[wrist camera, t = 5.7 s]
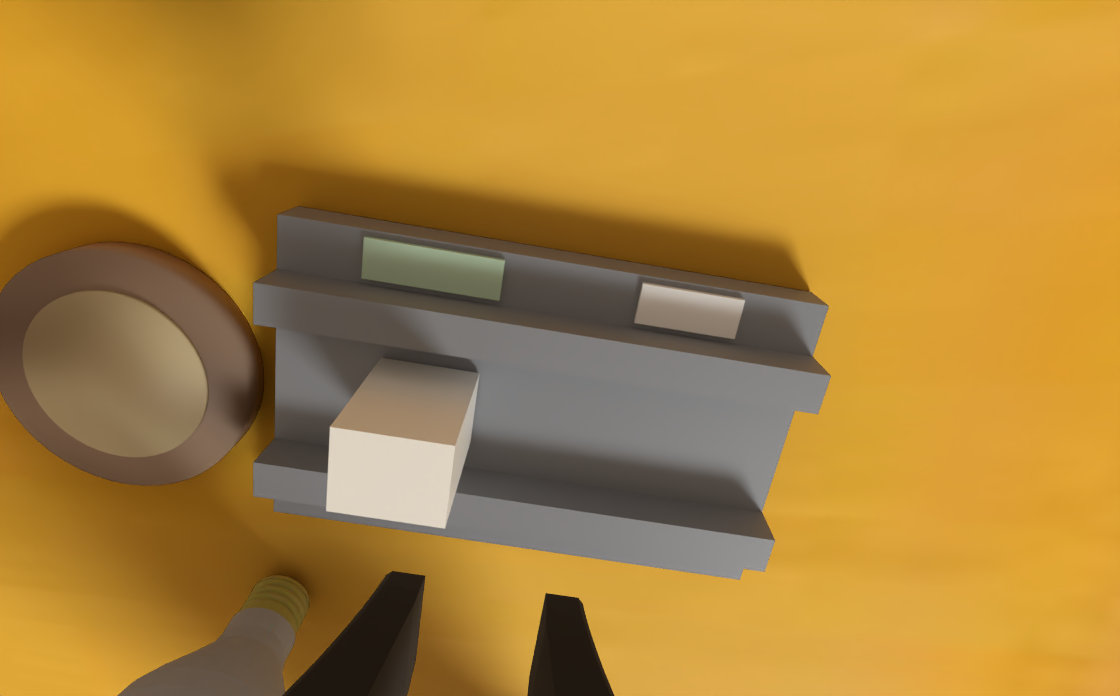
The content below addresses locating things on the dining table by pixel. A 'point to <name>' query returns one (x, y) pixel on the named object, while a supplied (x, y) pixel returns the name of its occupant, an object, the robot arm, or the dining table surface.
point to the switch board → (548, 386)
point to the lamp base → (128, 362)
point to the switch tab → (402, 443)
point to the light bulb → (238, 649)
